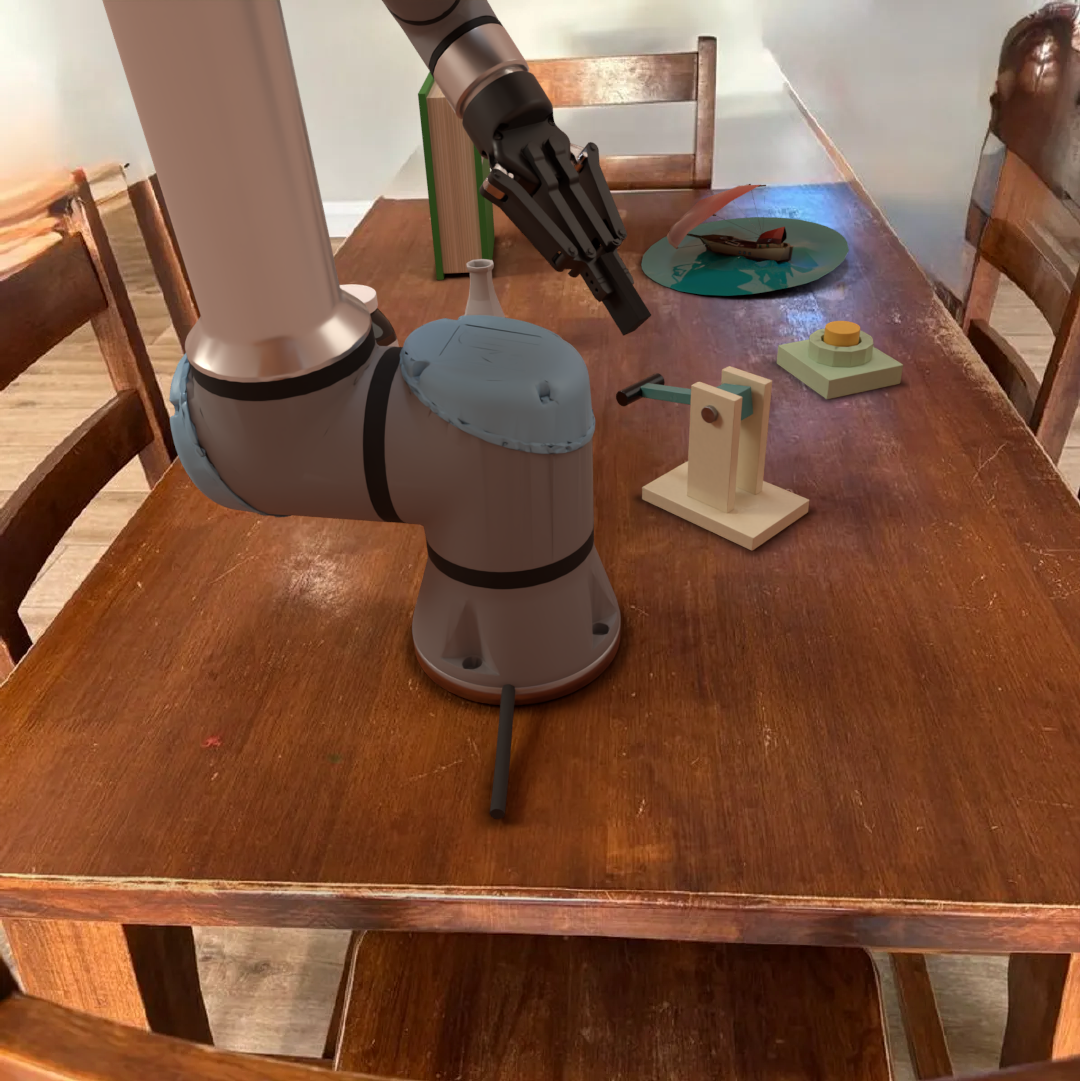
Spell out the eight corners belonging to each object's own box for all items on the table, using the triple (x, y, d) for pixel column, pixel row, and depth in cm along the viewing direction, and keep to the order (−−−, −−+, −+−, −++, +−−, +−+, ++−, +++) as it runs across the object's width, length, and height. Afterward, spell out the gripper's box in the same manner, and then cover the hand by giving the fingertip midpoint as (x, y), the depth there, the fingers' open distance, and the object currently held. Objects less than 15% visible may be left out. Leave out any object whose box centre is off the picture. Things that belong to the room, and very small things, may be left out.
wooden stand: (641, 499, 90) (643, 377, 83) (698, 466, 94) (704, 348, 88) (752, 551, 83) (763, 422, 76) (808, 512, 87) (823, 387, 81)
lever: (617, 410, 90) (613, 385, 89) (654, 392, 93) (651, 367, 91) (726, 429, 81) (723, 401, 80) (764, 408, 84) (761, 380, 83)
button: (865, 345, 107) (867, 330, 106) (835, 351, 106) (837, 335, 105) (845, 333, 110) (847, 318, 109) (816, 339, 109) (818, 324, 108)
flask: (509, 359, 117) (503, 274, 111) (448, 356, 118) (440, 273, 112) (522, 334, 123) (517, 253, 117) (464, 332, 124) (457, 252, 118)
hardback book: (490, 277, 140) (476, 91, 127) (436, 279, 140) (417, 93, 127) (494, 238, 155) (483, 67, 141) (446, 240, 155) (430, 69, 141)
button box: (900, 383, 107) (906, 348, 105) (826, 399, 105) (831, 364, 102) (845, 349, 115) (850, 316, 113) (776, 363, 113) (779, 329, 110)
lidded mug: (416, 398, 109) (403, 294, 103) (334, 438, 102) (314, 330, 96) (346, 370, 116) (329, 271, 109) (264, 406, 109) (241, 303, 103)
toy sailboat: (690, 223, 156) (687, 149, 150) (873, 234, 143) (878, 153, 136) (607, 295, 138) (599, 214, 131) (808, 316, 125) (810, 227, 118)
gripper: (530, 112, 95) (662, 324, 94) (421, 139, 88) (563, 369, 87) (569, 55, 89) (710, 282, 88) (455, 78, 81) (608, 326, 80)
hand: (637, 325), depth 87 cm, fingers closed
